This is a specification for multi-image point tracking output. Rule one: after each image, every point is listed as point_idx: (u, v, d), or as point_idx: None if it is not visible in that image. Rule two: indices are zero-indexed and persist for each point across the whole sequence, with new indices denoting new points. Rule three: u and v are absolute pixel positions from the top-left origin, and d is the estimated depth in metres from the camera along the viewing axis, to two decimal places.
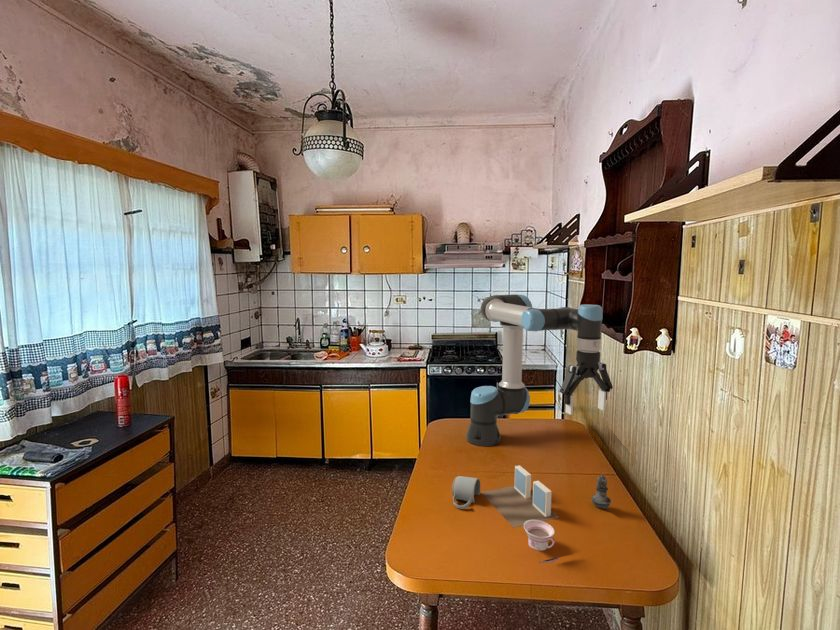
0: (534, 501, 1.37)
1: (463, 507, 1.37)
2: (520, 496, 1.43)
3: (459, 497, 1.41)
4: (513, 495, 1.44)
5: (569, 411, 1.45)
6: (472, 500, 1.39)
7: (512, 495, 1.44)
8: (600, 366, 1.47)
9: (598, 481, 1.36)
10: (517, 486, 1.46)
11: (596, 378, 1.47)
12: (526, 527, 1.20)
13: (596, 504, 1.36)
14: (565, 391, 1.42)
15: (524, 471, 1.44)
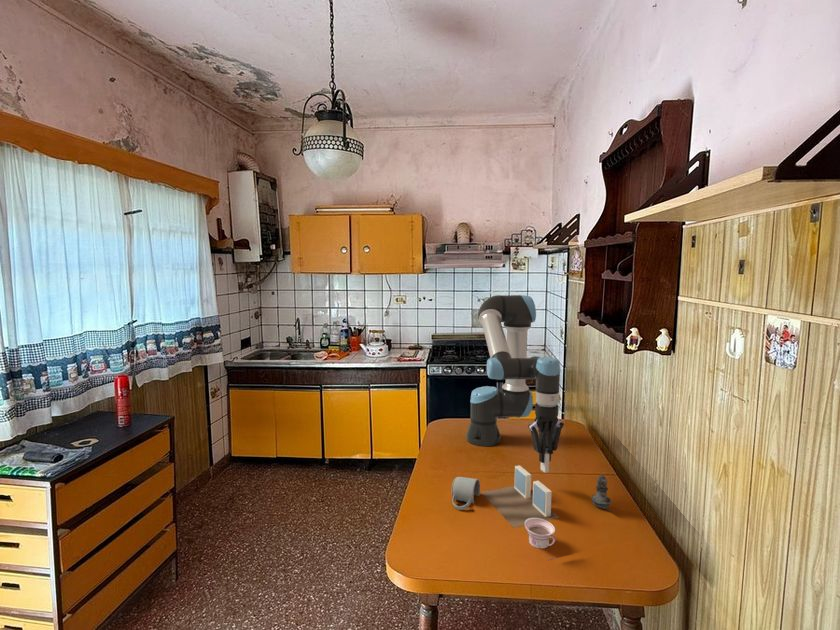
0: (534, 501, 1.37)
1: (462, 508, 1.37)
2: (520, 496, 1.43)
3: (458, 498, 1.41)
4: (513, 495, 1.44)
5: (544, 469, 1.46)
6: (471, 501, 1.38)
7: (512, 495, 1.44)
8: (558, 422, 1.47)
9: (598, 481, 1.36)
10: (517, 486, 1.46)
11: (548, 433, 1.45)
12: (527, 525, 1.21)
13: (596, 504, 1.36)
14: (538, 450, 1.44)
15: (524, 471, 1.44)
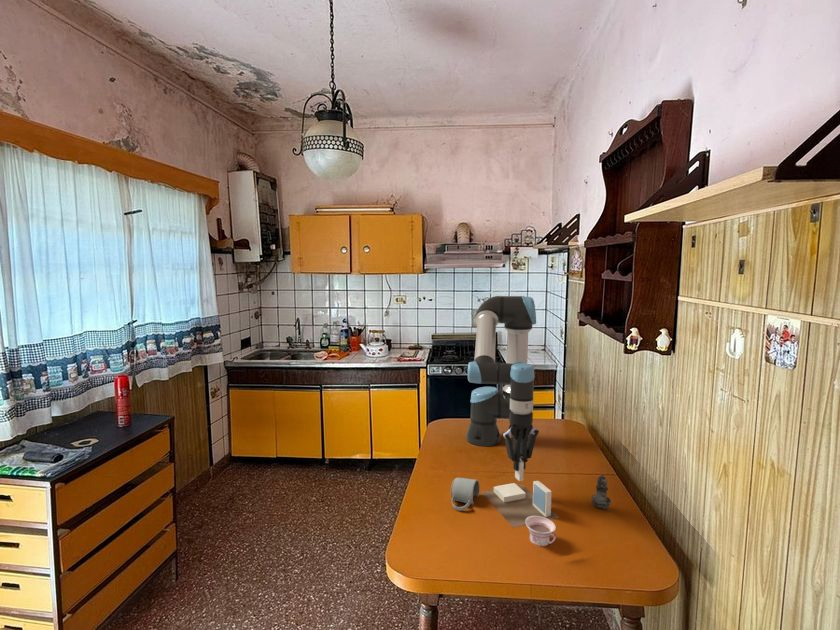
0: (534, 501, 1.37)
1: (462, 509, 1.36)
2: None
3: (458, 499, 1.40)
4: None
5: (518, 477, 1.43)
6: (471, 502, 1.38)
7: None
8: (533, 430, 1.44)
9: (598, 481, 1.36)
10: None
11: (523, 441, 1.42)
12: (528, 523, 1.22)
13: (596, 504, 1.36)
14: (512, 458, 1.41)
15: (500, 495, 1.42)
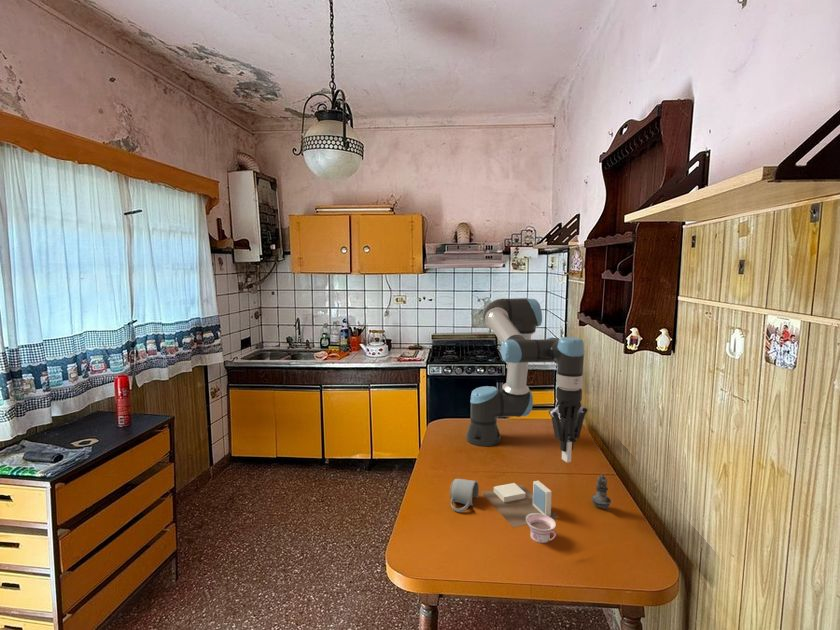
0: (534, 501, 1.37)
1: (461, 510, 1.36)
2: None
3: (457, 500, 1.39)
4: None
5: (565, 458, 1.35)
6: (470, 503, 1.37)
7: None
8: (581, 408, 1.35)
9: (598, 481, 1.36)
10: None
11: (571, 420, 1.34)
12: (528, 520, 1.23)
13: (596, 504, 1.36)
14: (560, 438, 1.33)
15: (500, 495, 1.42)
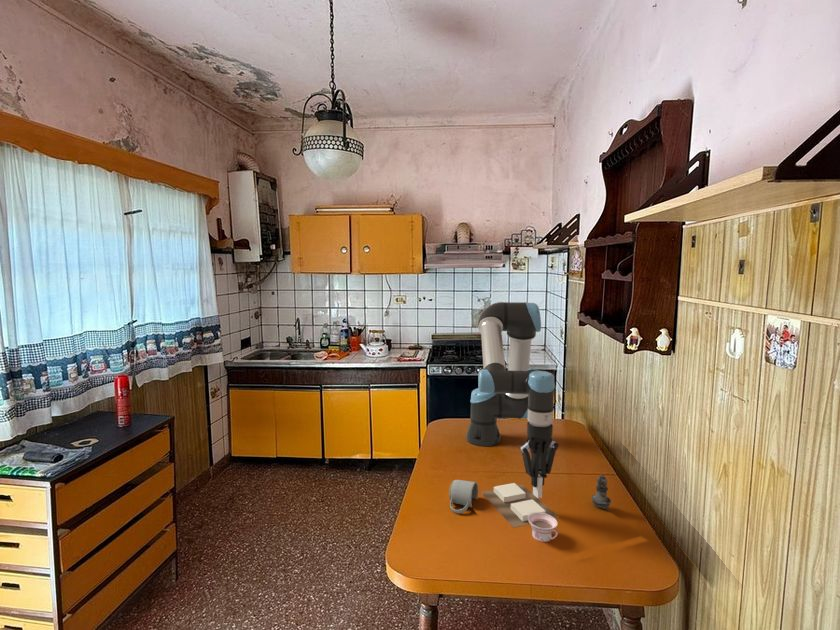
0: None
1: (460, 511, 1.35)
2: None
3: (456, 501, 1.39)
4: None
5: (536, 494, 1.33)
6: (469, 504, 1.36)
7: None
8: (552, 443, 1.33)
9: (598, 481, 1.36)
10: None
11: (542, 455, 1.32)
12: (530, 519, 1.24)
13: (596, 504, 1.36)
14: (531, 474, 1.31)
15: (500, 495, 1.42)
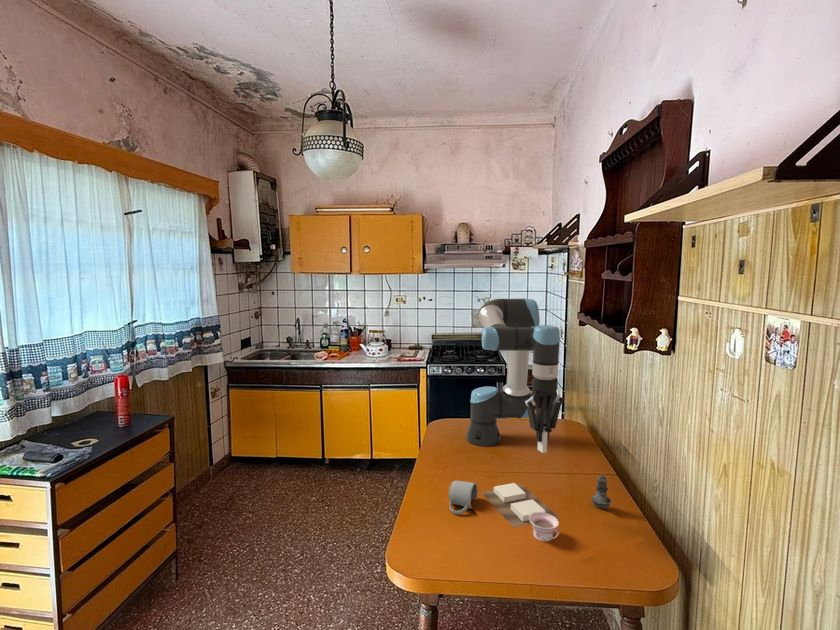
0: None
1: (459, 512, 1.34)
2: None
3: (455, 502, 1.38)
4: None
5: (541, 449, 1.32)
6: (469, 505, 1.36)
7: None
8: (557, 398, 1.32)
9: (598, 481, 1.36)
10: None
11: (547, 410, 1.31)
12: (531, 519, 1.24)
13: (596, 504, 1.36)
14: (535, 428, 1.30)
15: (500, 495, 1.42)
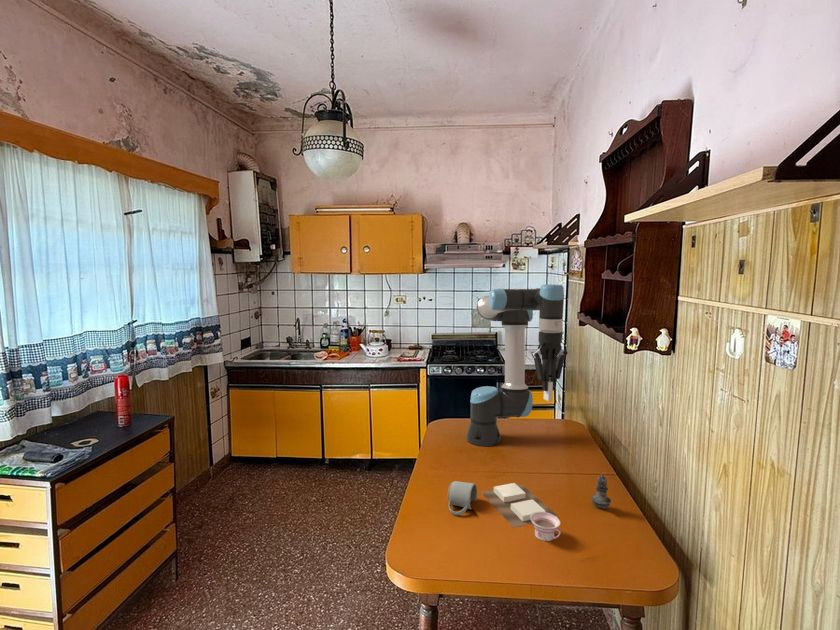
0: None
1: (459, 513, 1.34)
2: None
3: (455, 503, 1.38)
4: None
5: (547, 397, 1.45)
6: (468, 506, 1.35)
7: None
8: (561, 351, 1.45)
9: (598, 481, 1.36)
10: None
11: (552, 361, 1.44)
12: (533, 519, 1.24)
13: (596, 504, 1.36)
14: (542, 378, 1.43)
15: (500, 495, 1.42)
